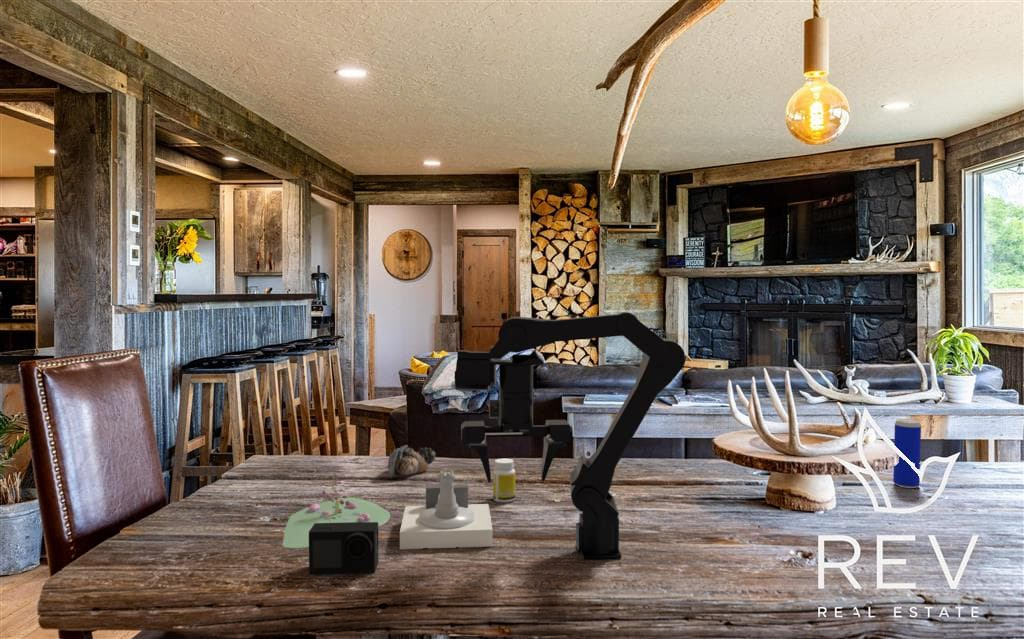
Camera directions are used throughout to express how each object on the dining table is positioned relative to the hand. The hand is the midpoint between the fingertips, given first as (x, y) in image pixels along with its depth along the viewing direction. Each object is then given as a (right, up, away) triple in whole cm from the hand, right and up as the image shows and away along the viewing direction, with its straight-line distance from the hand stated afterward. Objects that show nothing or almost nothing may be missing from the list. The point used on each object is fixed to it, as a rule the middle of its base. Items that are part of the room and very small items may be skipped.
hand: (516, 481), depth 116 cm
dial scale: (-13, -12, +9) cm, 19 cm away
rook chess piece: (-13, -8, +7) cm, 17 cm away
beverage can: (+89, -10, +38) cm, 98 cm away
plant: (-35, -12, +14) cm, 40 cm away
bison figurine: (-25, -10, +48) cm, 56 cm away
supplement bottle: (-2, -11, +28) cm, 31 cm away
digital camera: (-28, -13, -8) cm, 31 cm away
